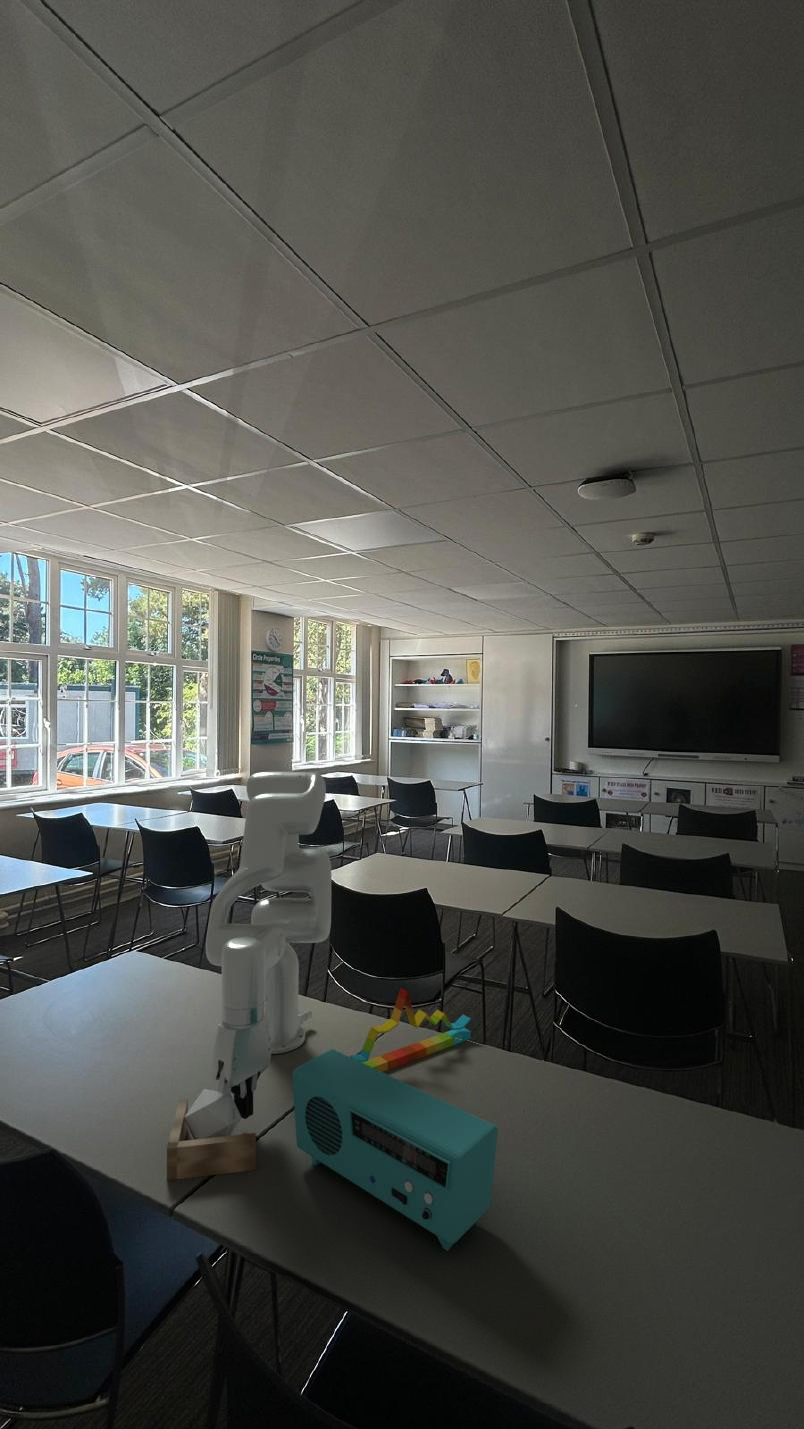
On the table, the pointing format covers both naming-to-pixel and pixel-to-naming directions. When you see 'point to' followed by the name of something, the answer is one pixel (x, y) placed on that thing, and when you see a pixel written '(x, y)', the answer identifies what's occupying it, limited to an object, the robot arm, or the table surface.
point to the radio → (396, 1142)
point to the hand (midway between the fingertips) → (243, 1114)
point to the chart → (417, 1048)
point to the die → (212, 1115)
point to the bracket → (206, 1151)
